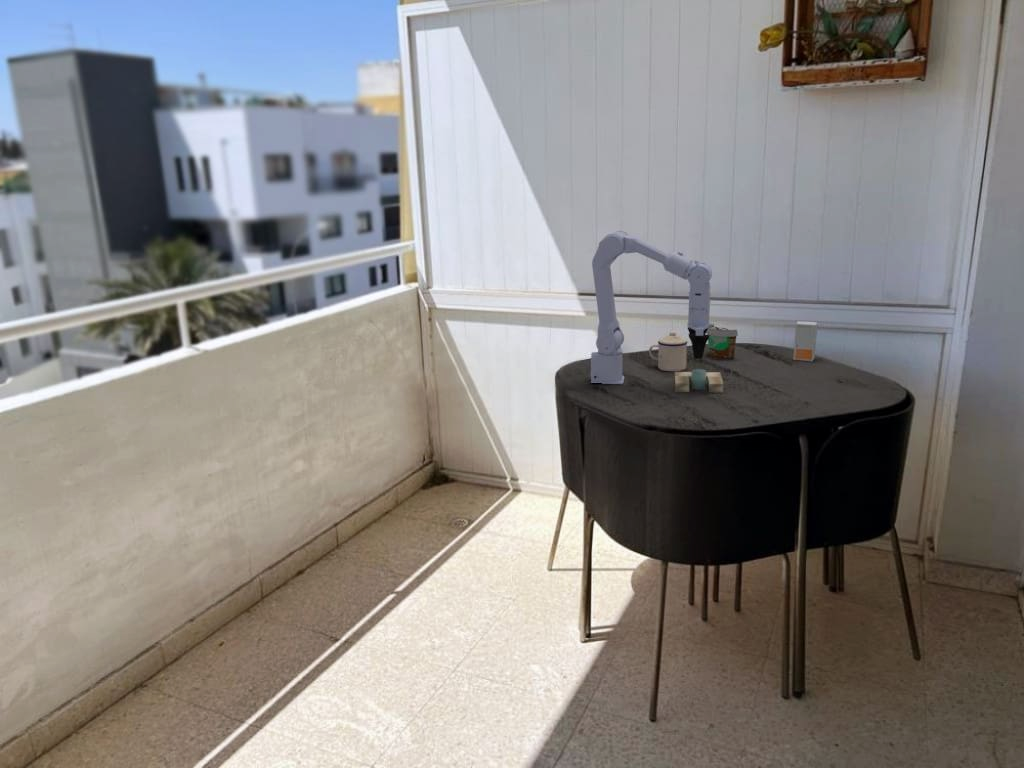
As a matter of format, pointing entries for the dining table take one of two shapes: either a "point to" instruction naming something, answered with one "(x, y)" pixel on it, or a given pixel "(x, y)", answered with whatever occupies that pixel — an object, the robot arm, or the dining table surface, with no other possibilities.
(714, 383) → the notched board
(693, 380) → the teal peg
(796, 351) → the skincare box
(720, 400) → the dining table surface
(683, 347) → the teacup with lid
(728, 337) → the food container
